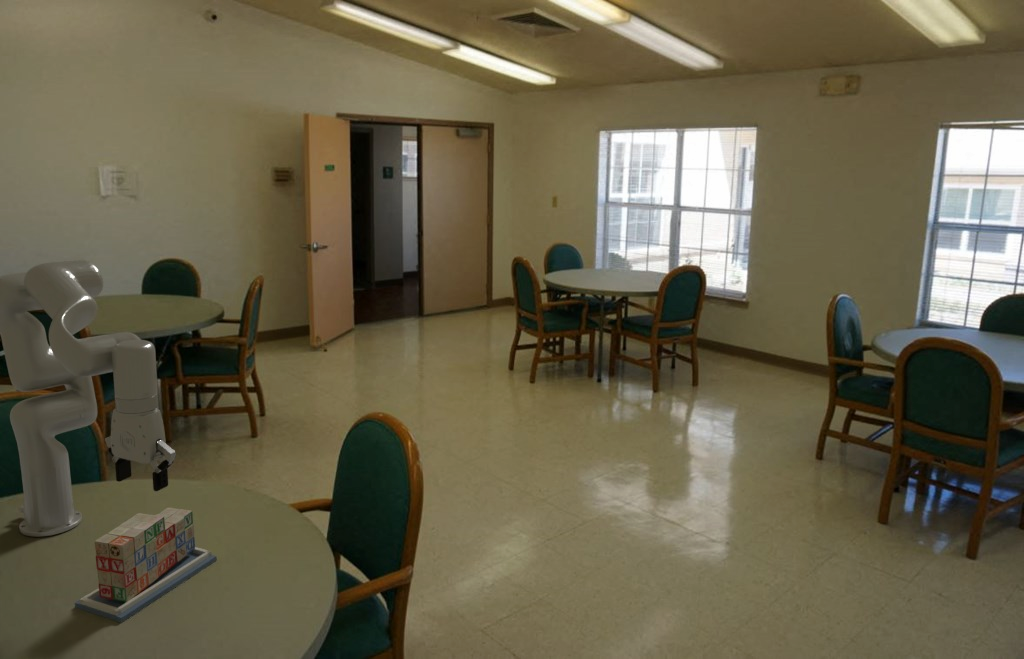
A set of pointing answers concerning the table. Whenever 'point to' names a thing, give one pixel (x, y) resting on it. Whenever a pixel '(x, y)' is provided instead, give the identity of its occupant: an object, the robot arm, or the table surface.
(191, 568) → the shallow rectangular tray
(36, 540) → the table surface
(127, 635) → the table surface
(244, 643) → the table surface
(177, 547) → the stack of blocks
